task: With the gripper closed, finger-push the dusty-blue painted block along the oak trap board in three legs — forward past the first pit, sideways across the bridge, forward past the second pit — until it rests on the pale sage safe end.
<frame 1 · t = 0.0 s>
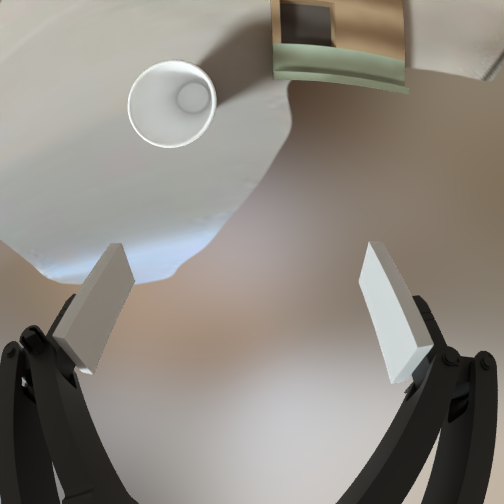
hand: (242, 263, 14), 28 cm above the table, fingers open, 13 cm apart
cup: (194, 97, 33), on the table
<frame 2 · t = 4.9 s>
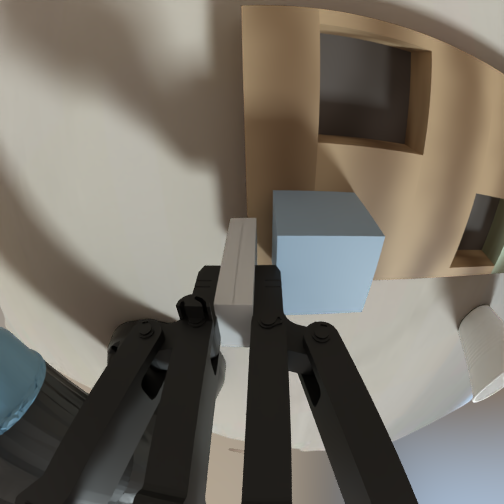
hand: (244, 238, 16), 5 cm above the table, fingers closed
trap board: (431, 161, 17), on the table
cup: (473, 317, 28), on the table
block: (311, 227, 17), point 3 cm above the table, touching gripper, trap board
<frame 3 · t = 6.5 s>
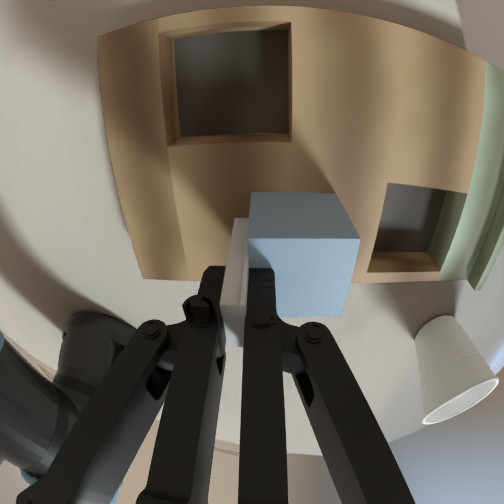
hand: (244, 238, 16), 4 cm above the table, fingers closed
trap board: (332, 149, 17), on the table
cup: (434, 328, 27), on the table
block: (292, 229, 17), point 3 cm above the table, touching gripper, trap board
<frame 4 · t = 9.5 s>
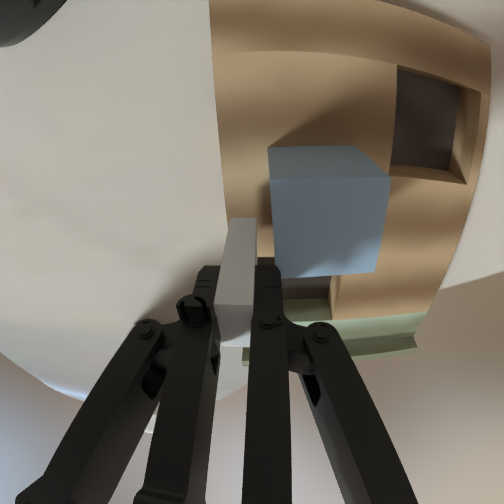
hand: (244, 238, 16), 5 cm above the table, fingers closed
trap board: (354, 198, 19), on the table
block: (312, 186, 15), point 3 cm above the table, touching gripper
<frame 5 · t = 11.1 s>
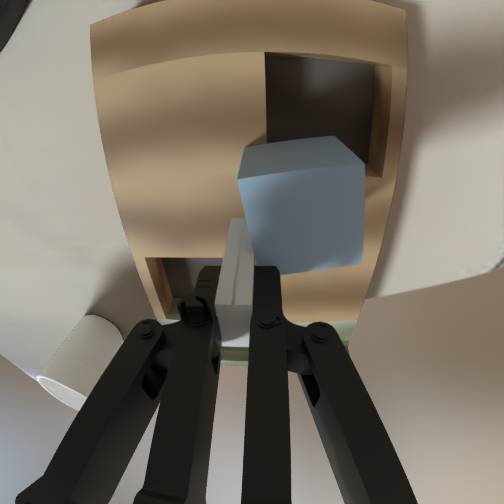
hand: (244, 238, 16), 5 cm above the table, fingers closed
trap board: (253, 198, 19), on the table
cup: (103, 327, 31), on the table
block: (295, 181, 15), point 3 cm above the table, touching gripper, trap board
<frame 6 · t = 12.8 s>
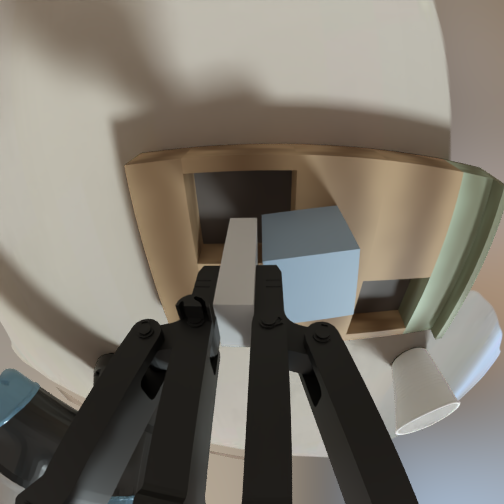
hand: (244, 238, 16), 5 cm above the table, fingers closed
trap board: (323, 250, 23), on the table
cup: (408, 357, 34), on the table
block: (302, 241, 19), point 3 cm above the table, touching trap board
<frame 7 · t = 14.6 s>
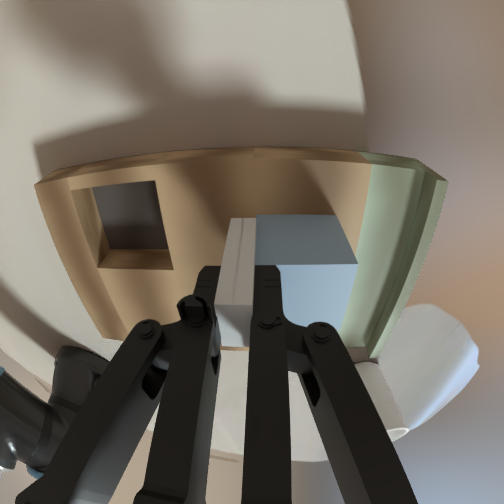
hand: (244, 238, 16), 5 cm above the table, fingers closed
trap board: (220, 257, 22), on the table
cup: (358, 370, 34), on the table
block: (295, 248, 18), point 3 cm above the table, touching gripper
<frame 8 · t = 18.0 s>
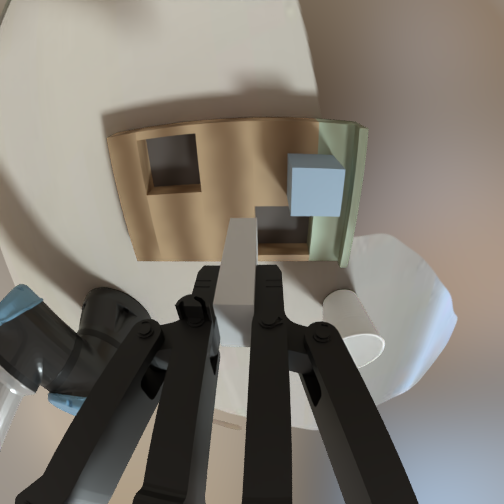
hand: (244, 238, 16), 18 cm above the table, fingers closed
trap board: (230, 189, 34), on the table
cup: (339, 300, 45), on the table
block: (309, 175, 29), point 3 cm above the table, touching trap board
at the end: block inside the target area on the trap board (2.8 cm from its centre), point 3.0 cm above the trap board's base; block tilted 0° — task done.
